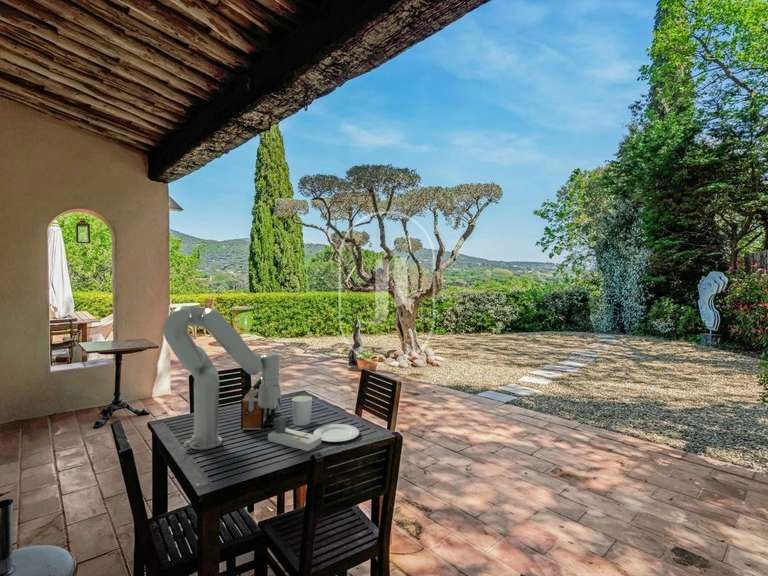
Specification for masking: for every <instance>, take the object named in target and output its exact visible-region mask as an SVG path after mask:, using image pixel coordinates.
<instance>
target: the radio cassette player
mask: <svg viewBox="0 0 768 576" xmlns="http://www.w3.org/2000/svg"><path fill="white" fill-rule="evenodd" d="M260 379H261V377H260V378H259V379H258V380H257V381H256V383H255V384H253V386H251V388H250V389H249V391H248V392H247V393H246V394H245V395H244V396H243V398H242V399H241V400H240V429H241V430H242V431H244V430H245V431H247V430H250V431H251V430H253V431H256V430H257V431H260V430H263V429H264V427H265V425H266V424H267V423H266V414H265V411H264V409H263V408H261V407H260V406H259V405H258V393H259V387H260V384H261V380H260Z"/></svg>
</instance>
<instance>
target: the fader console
mask: <svg viewBox="0 0 768 576" xmlns="http://www.w3.org/2000/svg"><path fill="white" fill-rule="evenodd" d="M267 441H268V442H272V443H275V444H279V445H283V446H287V447H290V448H295V449H299V450H302V451H306V452H310V451H311V449H312V450H313V449H315V448H316V446H317V447H318V446H320V445H321V444H322V442H323V441H322V437H321V436H317V435H314V434H312V433H309V432H303V431H299V430H295V429H291V428H289V427H286V430H285V431H283V432H281V433H276V432H275V430H273V431H271V432H269V433H267ZM309 450H310V451H309Z"/></svg>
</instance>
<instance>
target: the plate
mask: <svg viewBox="0 0 768 576" xmlns="http://www.w3.org/2000/svg"><path fill="white" fill-rule="evenodd" d="M313 435H317V436H321V437H322V442H326V443H331V442H335V443H336V442H339V443H345V442H348V441H351V440H354V439H356V438H357V437H359V435H360V430H359V429H358V428H357V427H355V426H353V425H350V424H346V423H345V424H344V423H343V424H342V423H336V424H335V423H333V424H332V423H331V424H326V425H322V426H320V427H317V428H316V429H315V430H314V431H313ZM335 443H334V444H335ZM336 444H337V443H336Z"/></svg>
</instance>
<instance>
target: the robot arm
mask: <svg viewBox="0 0 768 576" xmlns="http://www.w3.org/2000/svg"><path fill="white" fill-rule="evenodd" d="M189 326H190V327H201V328H203V329H205V331H207V333H209V334H210V336H211V337H213V339H215V341H216V342H217V343H218V344H219V345H220V346H221V347H222V348H223V349H224V350H225V352H226V353H227V354H229V355H230V357H232V359H233V360H234V361H235V362H236V363H237V364H238V365H239V367H240V368H242V369H243V370H244V371H245V373H246V374H248V375H250V376H251V375H252V376H253V375H258V374H260V373H261V377H260V378H261V379H260V378H259V379H260V380H261V384H260V387H259V393H258V405H259V406H260V407H261V408H263V409H264V411H265V414H266V424H271V423H274V419H275V417H274V415H275V413H276V412H278V411H280V410H281V405H282V393H281V391H282V390H281V385H280V383H279V382H280V376H279V374H280V356H279V354H278V353H277V354H276V353H263V354H262V353H261V354H260V353H254V351H252V349H251V348H250V347H249V345H247V343H246V342H245V341H244V339H243V338H242V336H241V335H240V333H239V332H238V331H237V330H236V329H235V328H234V327H233V326H232V325H231V323H229V322H228V321H227V319H226V318H225V317H224V316H223V315H222V314H221V312H220V311H219V310H218V309H216V308H211V307H199V306H191V305H179V306H177V307H175V308H174V309H173V310H171V312H170V313H169V314H168V316H167V317H166V318H165V321H164V323H163V328H162V329H163V330H162V331H163V336H164V339H165V341H166V342H167V344H168V345H169V347H170V349H171V351H172V352H173V354H174V355H175V357H176V358H177V360H178V361H179V363H180V365H181V366H182V368H183V369H184V370H186V371H188V372H189V373H190V374H191V376H192V377H193V403H194V404H193V435H191V438H190V439H189V440H186V441H184V442H183V444H182V445H183V447H184V448H185V447H188V446H189V448H191V449H193V450H197V451H200V450H201V451H204V450H205V451H206V450H209V449H210V450H211V449H214V448H216V447H219V446H221V444H222V443H223V438H222V437H220V436H219V423H220V421H219V412H220V411H219V407H220V405H219V404H220V403H219V402H220V401H219V397H220V396H219V394H220V393H219V392H220V376H219V375H220V374H219V372H218V369H217V367H216V366H215V365H214V363H213V361H212V360H211V359H210V357H209V356H208V354H207V353H206V351H205V350H204V349H203V348H202V347H201V346H199V345H197V344H196V343H195V341H194V339H193V338H192V336H191V335H190V333H189V332H188V327H189Z"/></svg>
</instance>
